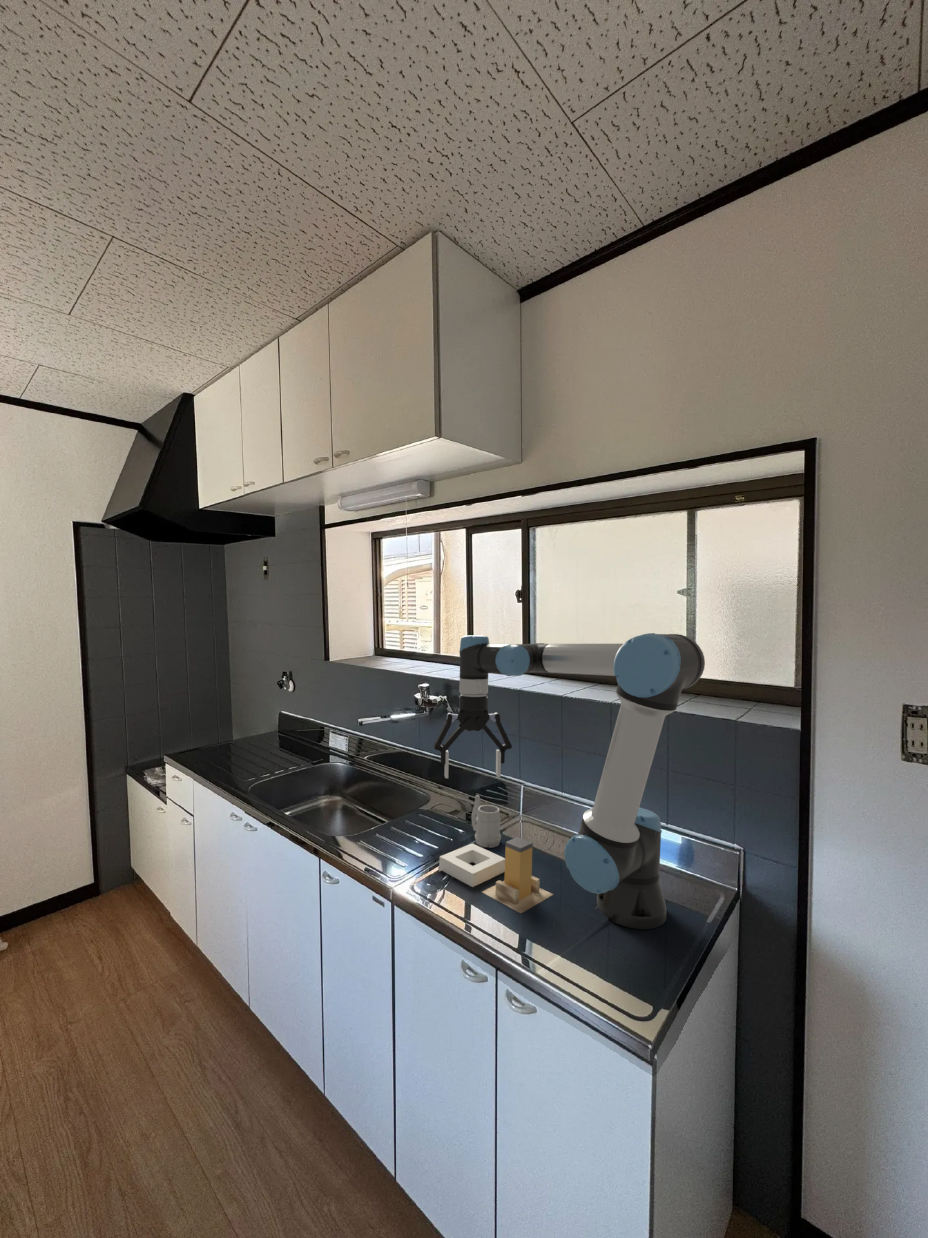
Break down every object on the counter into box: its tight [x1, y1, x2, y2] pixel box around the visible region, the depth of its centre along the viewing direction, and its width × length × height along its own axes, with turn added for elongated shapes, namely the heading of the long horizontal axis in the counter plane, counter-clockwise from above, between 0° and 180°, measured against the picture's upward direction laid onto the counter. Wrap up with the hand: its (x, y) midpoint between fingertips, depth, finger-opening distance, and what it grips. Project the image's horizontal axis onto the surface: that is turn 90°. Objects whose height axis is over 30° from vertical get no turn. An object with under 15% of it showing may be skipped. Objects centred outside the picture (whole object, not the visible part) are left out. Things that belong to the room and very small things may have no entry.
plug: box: [503, 836, 534, 900], centre depth 125 cm, size 4×4×12 cm
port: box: [438, 843, 505, 888], centre depth 135 cm, size 12×12×4 cm
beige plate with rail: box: [481, 875, 554, 914], centre depth 125 cm, size 12×12×4 cm
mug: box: [471, 794, 502, 849], centre depth 156 cm, size 8×12×12 cm, turn 34°
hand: (472, 776), depth 138 cm, fingers open, 13 cm apart
